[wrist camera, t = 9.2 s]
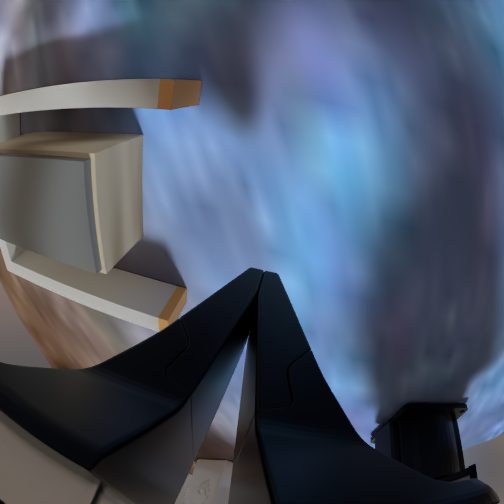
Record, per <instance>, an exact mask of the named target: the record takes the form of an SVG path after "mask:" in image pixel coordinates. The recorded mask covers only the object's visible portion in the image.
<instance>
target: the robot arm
mask: <svg viewBox="0 0 504 504" xmlns="http://www.w3.org/2000/svg"><path fill="white" fill-rule="evenodd" d="M249 332H250V333H249ZM248 336H249V337H248ZM247 339H248V343H247V350H246V359H245V367H244V376H243V384H242V393H241V401H240V410H239V418H238V426H237V435H236V443H235V451H234V459H233V468H232V476H231V484H230V492H229V500H228V504H498V503H499V502H500V500H499V497H498V495H497V493H496V492H495V491H494V490H493V489H492V488H491V487H490V486H488V485H487V484H485V483H483V482H482V481H480V480H478V479H477V472H476V464H473V465H471V466H469V468H466V469H465V465H464V458H463V451H462V445H461V439H460V434H459V428H458V423H457V419H458V418H459V417H460V416H461V415H463V414H464V413H465V412H466V411H467V409H468V408H467V405H466V404H419V403H410V404H407V405H405V406H404V407H403V408H402V409H401V410H400V411H399V412H398V413H397V414H396V415H395V416H394V417H393V418H392V419H391V420H390V421H388V422H387V423H386V424H385V425H384V426H383V427H382V428H381V429H380V430H379V431H378V432H377V433H375V434H374V435H373V436H372V437H371V443H374V444H375V449H374V448H373V447H371V446H370V445H368V444H367V443H366V442H365V441H364V440H363V439H362V438H361V437H360V436H359V435H358V433H357V432H356V431H355V429H354V427H353V426H352V424H351V423H350V421H349V419H348V418H347V416H346V414H345V413H344V411H343V409H342V408H341V406H340V404H339V403H338V401H337V399H336V398H335V396H334V394H333V393H332V391H331V389H330V387H329V386H328V384H327V382H326V380H325V378H324V377H323V375H322V373H321V370H320V368H319V366H318V364H317V362H316V360H315V357H314V355H313V352H312V351H311V348H310V346H309V343H308V341H307V339H306V337H305V334H304V332H303V330H302V327H301V325H300V323H299V320H298V318H297V316H296V313H295V311H294V309H293V307H292V304H291V302H290V300H289V297H288V295H287V293H286V291H285V288H284V286H283V284H282V281H281V279H280V277H279V275H278V274H277V273H274V272H269V271H265V272H264V271H263V270H260V269H256V268H249V269H248V270H246V271H245V272H243V273H242V274H241V275H239V276H238V277H236V278H235V279H234V280H232V281H231V282H229V283H228V284H227V285H225V286H224V287H222V288H221V289H220V290H218V291H217V292H215V293H214V294H213V295H211V296H210V297H208V298H207V299H206V300H204V301H203V302H201V303H200V304H199V305H197V306H196V307H194V308H193V309H192V310H190V311H189V312H187V313H186V314H185V315H183V316H182V317H180V319H177V320H176V321H174V322H173V323H172V324H170V325H169V326H167V327H166V328H164V329H163V330H161V331H160V332H158V333H156V334H155V335H153V336H151V337H150V338H148V339H146V340H144V341H142V342H141V343H139V344H137V345H135V346H133V347H131V348H129V349H127V350H125V351H124V352H122V353H120V354H118V355H116V356H114V357H112V358H110V359H108V360H106V361H104V362H102V363H100V364H98V365H95V366H92V367H89V368H85V369H56V368H40V367H29V366H18V365H11V364H5V363H1V362H0V504H174V503H175V501H176V499H177V497H178V495H179V493H180V491H181V488H182V486H183V484H184V482H185V480H186V478H187V476H188V474H189V471H190V469H191V467H192V465H193V462H194V461H195V458H196V456H197V454H198V452H199V450H200V448H201V445H202V443H203V441H204V439H205V437H206V434H207V432H208V430H209V428H210V425H211V423H212V421H213V419H214V416H215V414H216V412H217V410H218V407H219V405H220V403H221V401H222V398H223V396H224V394H225V391H226V389H227V387H228V385H229V382H230V380H231V378H232V375H233V373H234V371H235V368H236V366H237V364H238V361H239V359H240V357H241V354H242V352H243V349H244V347H245V345H246V342H247Z"/></svg>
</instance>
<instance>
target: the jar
mask: <svg viewBox="0 0 504 504" xmlns="http://www.w3.org/2000/svg"><path fill="white" fill-rule="evenodd" d="M232 468H233V462H231V461H228V460H210V459H198V460H197V462H196V465H195V468H194V471H193V474H192V477H191V480H190V483H189V486H188V489H187V492H186V495H185V498H184V501H183V504H228V500H229V492H230V484H231V476H232Z"/></svg>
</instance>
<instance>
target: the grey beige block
mask: <svg viewBox="0 0 504 504" xmlns="http://www.w3.org/2000/svg"><path fill="white" fill-rule="evenodd" d="M142 160H143V135H135V134H121V133H102V132H29V133H26V134H23V135H21V136H18V137H15V138H12V139H10V140H7V141H4V142H2V143H0V239H1V240H4V241H6V242H9V243H11V244H14V245H16V246H19V247H21V248H24V249H26V250H29V251H32V252H34V253H37V254H40V255H42V256H45V257H48V258H50V259H53V260H56V261H59V262H61V263H64V264H67V265H70V266H73V267H76V268H79V269H82V270H85V271H88V272H91V273H94V274H98V273H99V272H101V273H104V274H107V273H108V272H109V271H110V270H111V269H112V268H113V267H114V266H115V265H116V264H117V263H118V262H119V260H120V259H121V258H122V257H123V256H124V255H125V254H126V253H127V252H128V251H129V250H130V249H131V248H132V247H133V246H134V245H135V244H136V243H137V242H138V241H139V240H140V239H141V238H142V237H143V210H142Z"/></svg>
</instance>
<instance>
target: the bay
mask: <svg viewBox="0 0 504 504" xmlns="http://www.w3.org/2000/svg"><path fill="white" fill-rule="evenodd" d="M201 84H202V81H200V80H182V79H118V80H101V81H89V82H78V83H70V84H62V85H54V86H48V87H42V88H36V89H30V90H25V91H20V92H15V93H11V94H7V95H3V96H0V143H2V142H4V141H7V140H10V139H12V138H15V137H18V136H20V113H21V112H30V111H40V110H52V109H68V108H101V107H117V108H151V109H168V110H172V109H178V108H183V107H189V106H195V105H199V100H200V92H201ZM0 248H1V251H2V254H3V258H4V261H5V264H6V267H7V270H8V271H10V272H12V273H14V274H16V275H18V276H20V277H22V278H24V279H26V280H28V281H31V282H33V283H35V284H37V285H39V286H41V287H43V288H46V289H48V290H50V291H52V292H55V293H57V294H59V295H61V296H64V297H66V298H69V299H71V300H73V301H76V302H78V303H81V304H83V305H86V306H88V307H91V308H93V309H96V310H98V311H101V312H103V313H106V314H109V315H111V316H114V317H117V318H120V319H122V320H125V321H128V322H131V323H134V324H137V325H139V326H142V327H145V328H148V329H151V330H154V331H158V332H160V331H161V330H163V329H164V328H166V327H167V326H169V325H170V324H172V323H173V322H174V321H176V320H177V319H178V317H179V315H180V313H181V312H182V310H183V308H184V306H185V304H186V295H187V288H183V287H179V286H176V285H172V284H168V283H165V282H161V281H157V280H154V279H150V278H147V277H143V276H140V275H137V274H133V273H130V272H126V271H123V270H120V269H116V268H112V269H111V270H110V271H109V272H108V273H107V274H104V273H101V272H99V273H98V274H94V273H91V272H88V271H85V270H82V269H79V268H76V267H73V266H70V265H67V264H64V263H61V262H59V261H56V260H53V259H50V258H48V257H45V256H42V255H40V254H37V253H34V252H32V251H29V250H26V249H24V248H21V247H19V246H16V245H14V244H11V243H9V242H6V241H4V240H1V239H0Z"/></svg>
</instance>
